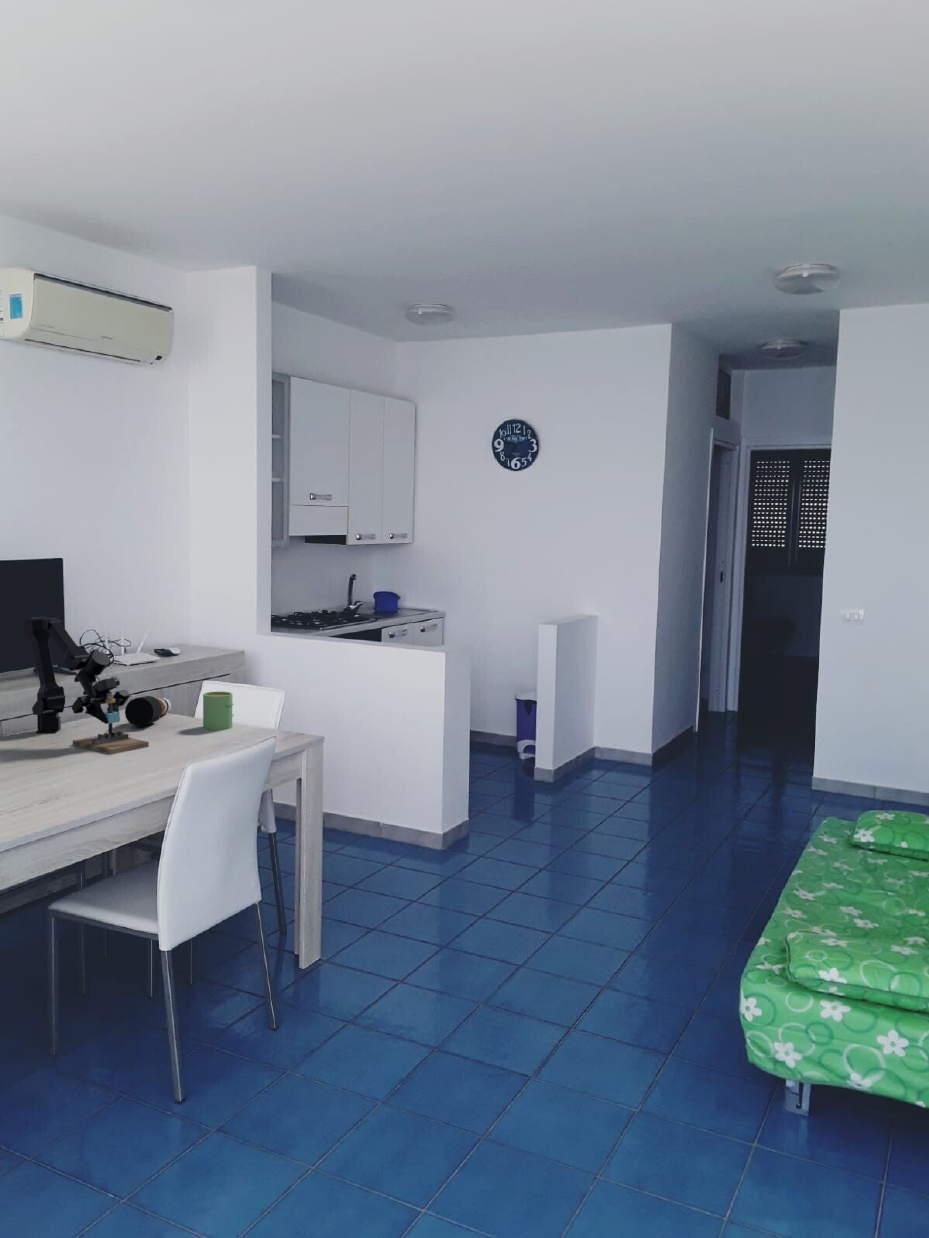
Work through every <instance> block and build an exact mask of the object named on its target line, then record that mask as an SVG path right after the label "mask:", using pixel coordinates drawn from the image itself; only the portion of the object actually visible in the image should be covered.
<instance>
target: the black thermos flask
mask: <svg viewBox="0 0 929 1238" xmlns="http://www.w3.org/2000/svg"><path fill="white" fill-rule="evenodd" d="M171 708H172V703H171V701H170V700H169V699H168V698H164V697H162V698H160V697H159V698H156V697H155V696H150V695H144V696H141V697H135V698H133V699H131V700H130V701H128V703H127V704H126V706H125V710H124V714H125V719H126V720H127V722H129V724H131V725H132V726H135V727H143V726H146V725H150V724H153V723H156V722H157V721H158V720H159V719H160V718H161V716H163V715H165V714H167V713H169V712H170V711H171ZM162 714H163V715H162Z"/></svg>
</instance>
